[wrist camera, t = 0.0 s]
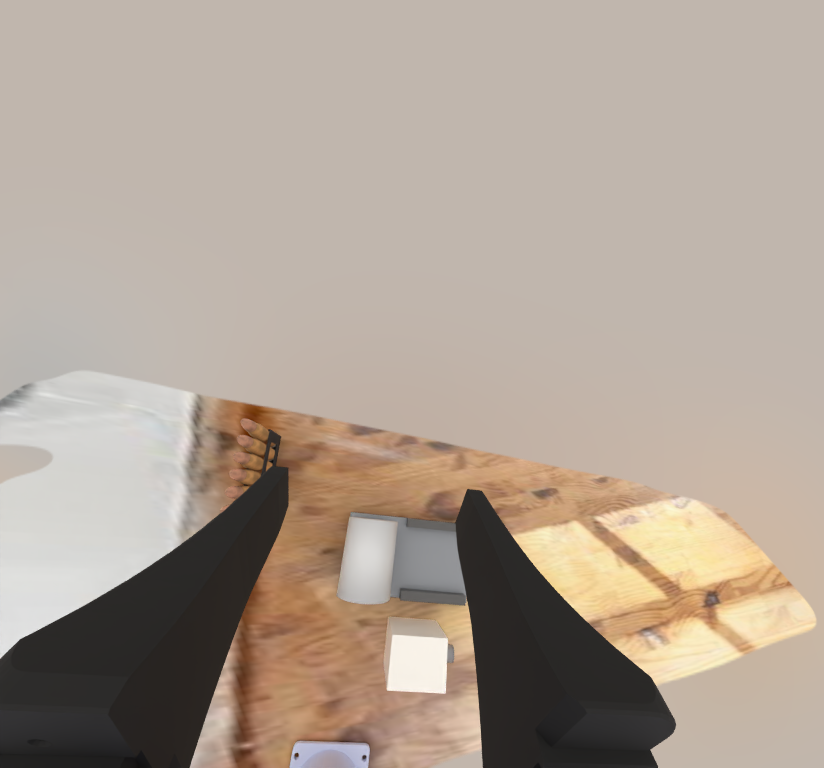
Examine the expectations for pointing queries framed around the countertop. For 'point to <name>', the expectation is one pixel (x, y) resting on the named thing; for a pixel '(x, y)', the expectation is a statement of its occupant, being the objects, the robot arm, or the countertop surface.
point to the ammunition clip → (253, 457)
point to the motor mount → (400, 561)
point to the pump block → (416, 655)
